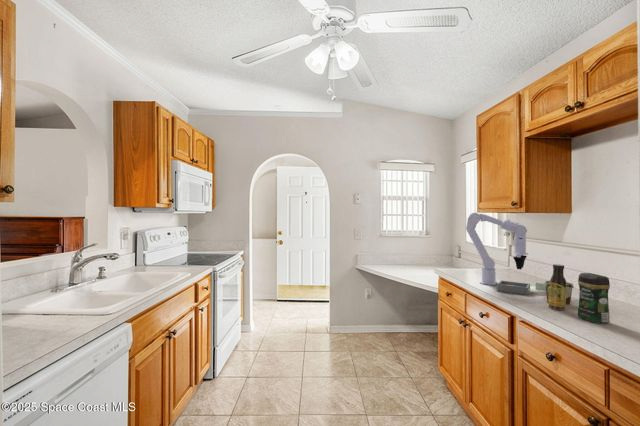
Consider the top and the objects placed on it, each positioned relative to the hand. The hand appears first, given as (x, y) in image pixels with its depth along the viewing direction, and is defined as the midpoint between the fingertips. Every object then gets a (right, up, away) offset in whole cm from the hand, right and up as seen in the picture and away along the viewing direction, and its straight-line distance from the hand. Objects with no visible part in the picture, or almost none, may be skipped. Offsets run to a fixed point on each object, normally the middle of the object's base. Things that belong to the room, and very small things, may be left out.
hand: (520, 268), depth 190 cm
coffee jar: (-8, -11, -61) cm, 62 cm away
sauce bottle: (-12, -11, -46) cm, 48 cm away
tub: (-11, -10, -13) cm, 20 cm away
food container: (-5, -11, -35) cm, 37 cm away
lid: (+8, -11, -9) cm, 17 cm away
